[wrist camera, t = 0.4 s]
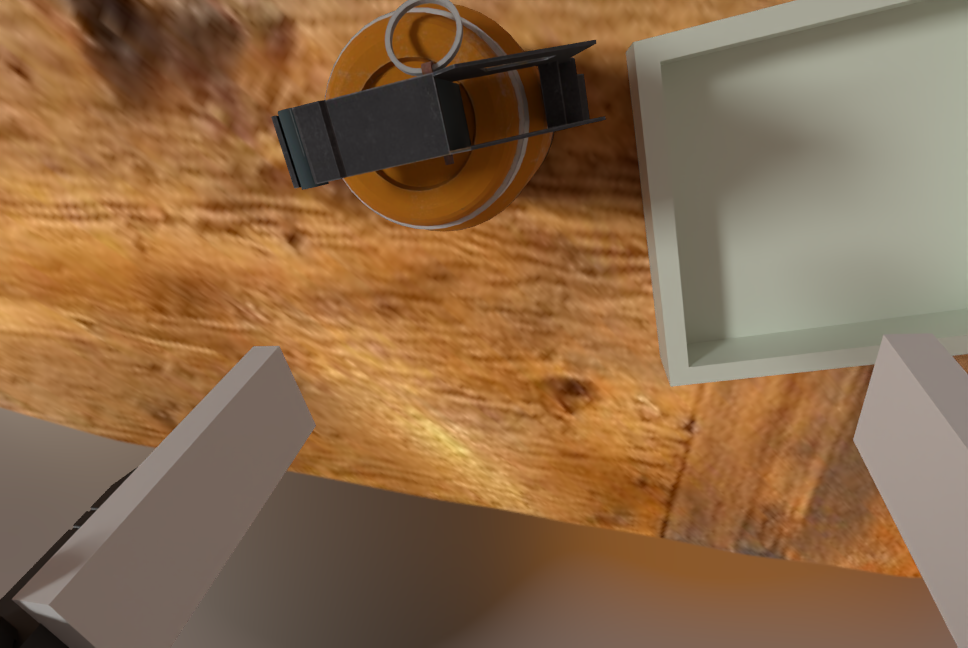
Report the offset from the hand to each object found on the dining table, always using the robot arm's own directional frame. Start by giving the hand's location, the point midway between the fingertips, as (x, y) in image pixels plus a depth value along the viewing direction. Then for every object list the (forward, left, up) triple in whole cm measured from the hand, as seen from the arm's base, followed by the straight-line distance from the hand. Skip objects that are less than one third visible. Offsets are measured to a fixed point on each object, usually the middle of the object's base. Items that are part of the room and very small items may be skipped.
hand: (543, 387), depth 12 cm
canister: (-6, -3, -25) cm, 26 cm away
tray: (+2, +15, -25) cm, 29 cm away
